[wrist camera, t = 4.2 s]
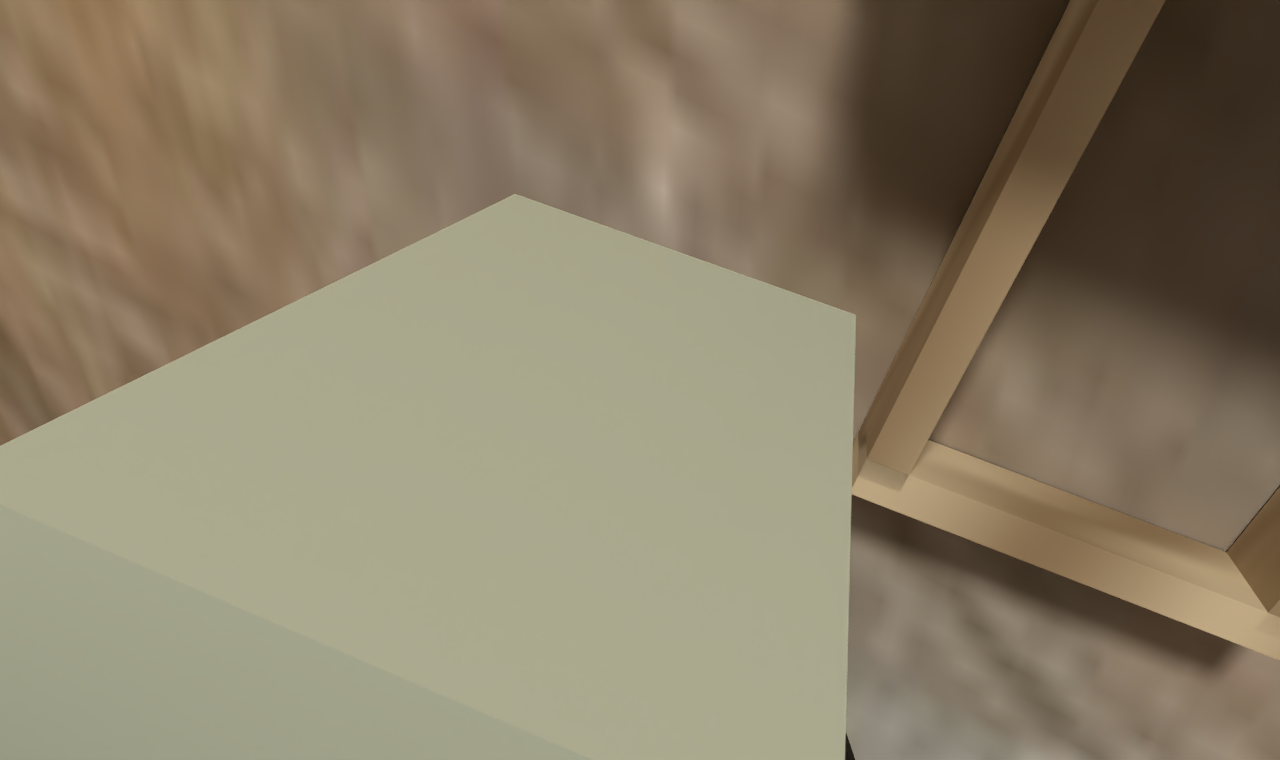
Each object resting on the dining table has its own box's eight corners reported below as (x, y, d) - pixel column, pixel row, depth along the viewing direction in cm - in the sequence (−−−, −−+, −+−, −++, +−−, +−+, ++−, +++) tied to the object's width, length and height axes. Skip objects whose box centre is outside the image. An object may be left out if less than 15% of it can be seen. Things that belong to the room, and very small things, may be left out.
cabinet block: (855, 314, 9) (841, 867, 3) (656, 768, 13) (475, 1417, 7) (515, 194, 10) (-63, 476, 4) (417, 666, 14) (52, 1192, 8)
